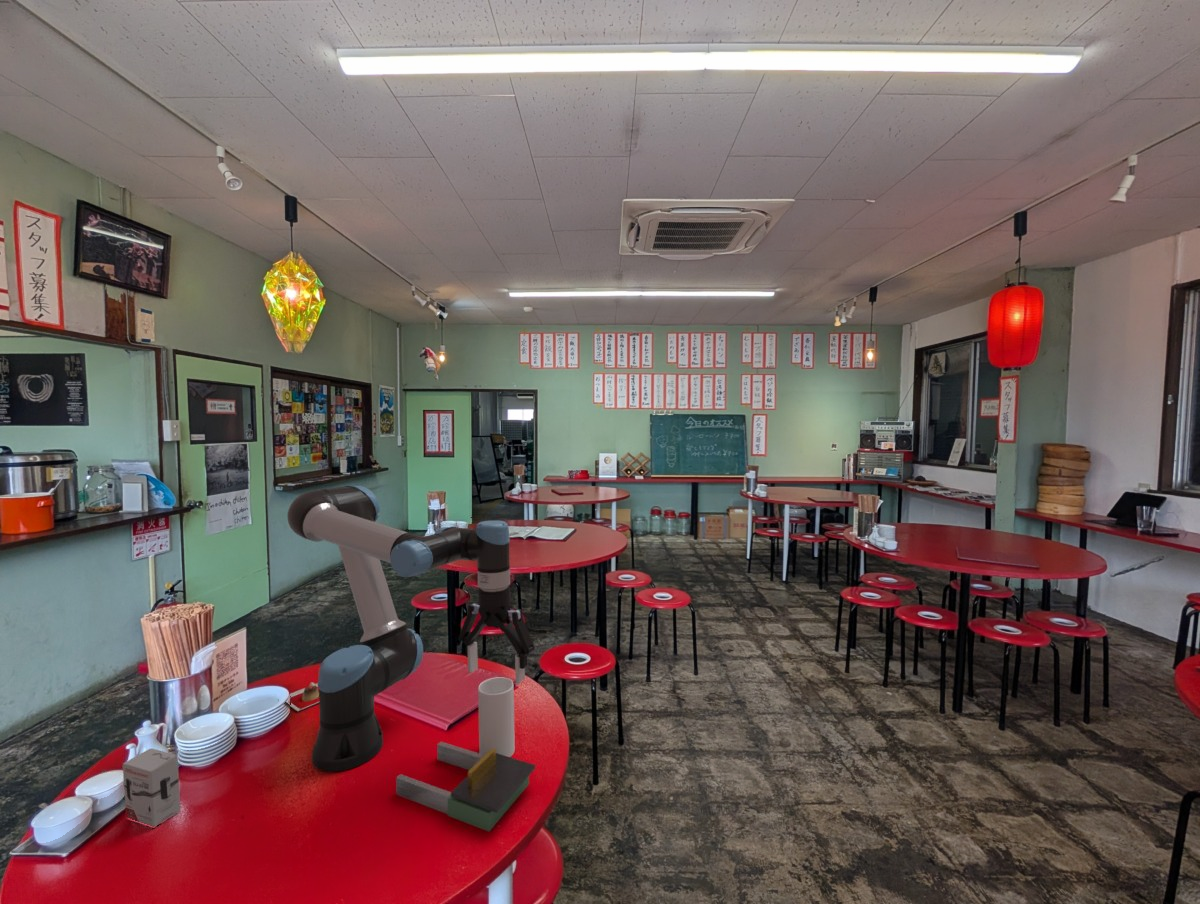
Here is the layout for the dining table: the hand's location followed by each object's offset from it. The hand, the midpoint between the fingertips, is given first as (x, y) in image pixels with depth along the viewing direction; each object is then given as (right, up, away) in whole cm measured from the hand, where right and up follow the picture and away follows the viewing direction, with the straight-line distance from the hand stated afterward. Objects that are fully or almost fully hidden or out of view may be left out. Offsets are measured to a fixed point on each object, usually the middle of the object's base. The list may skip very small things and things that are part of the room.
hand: (496, 675), depth 117 cm
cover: (+3, -15, -16) cm, 22 cm away
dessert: (-60, -19, +27) cm, 68 cm away
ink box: (-65, -20, -18) cm, 70 cm away
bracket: (-9, -19, -10) cm, 23 cm away
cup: (0, -19, +1) cm, 19 cm away
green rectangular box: (+2, -19, -15) cm, 24 cm away
